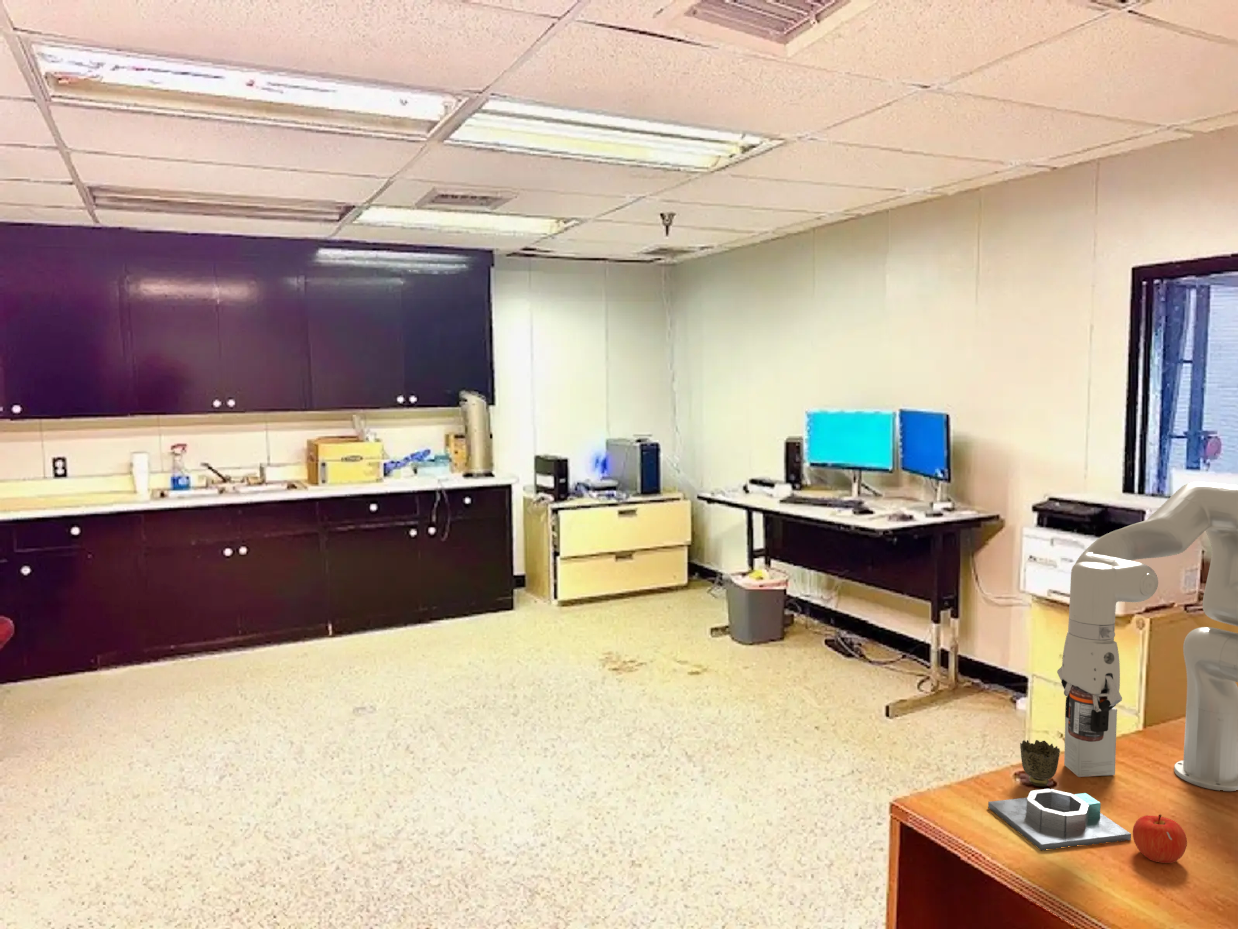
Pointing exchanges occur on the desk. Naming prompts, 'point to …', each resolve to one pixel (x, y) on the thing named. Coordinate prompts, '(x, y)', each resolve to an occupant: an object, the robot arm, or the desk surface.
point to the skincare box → (1092, 751)
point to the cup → (1039, 761)
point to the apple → (1159, 838)
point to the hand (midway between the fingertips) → (1086, 723)
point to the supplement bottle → (1082, 715)
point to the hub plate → (1052, 835)
